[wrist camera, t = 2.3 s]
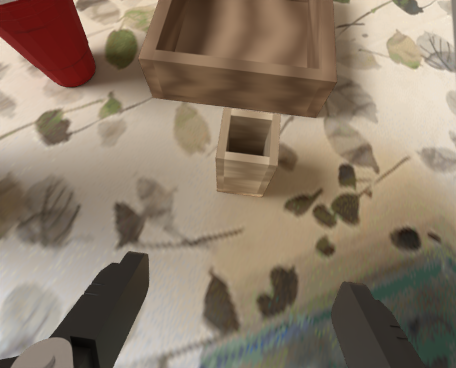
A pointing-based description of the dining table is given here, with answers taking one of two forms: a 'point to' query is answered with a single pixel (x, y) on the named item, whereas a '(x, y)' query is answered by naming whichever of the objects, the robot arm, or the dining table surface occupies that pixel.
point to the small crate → (247, 151)
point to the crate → (243, 54)
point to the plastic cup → (49, 38)
